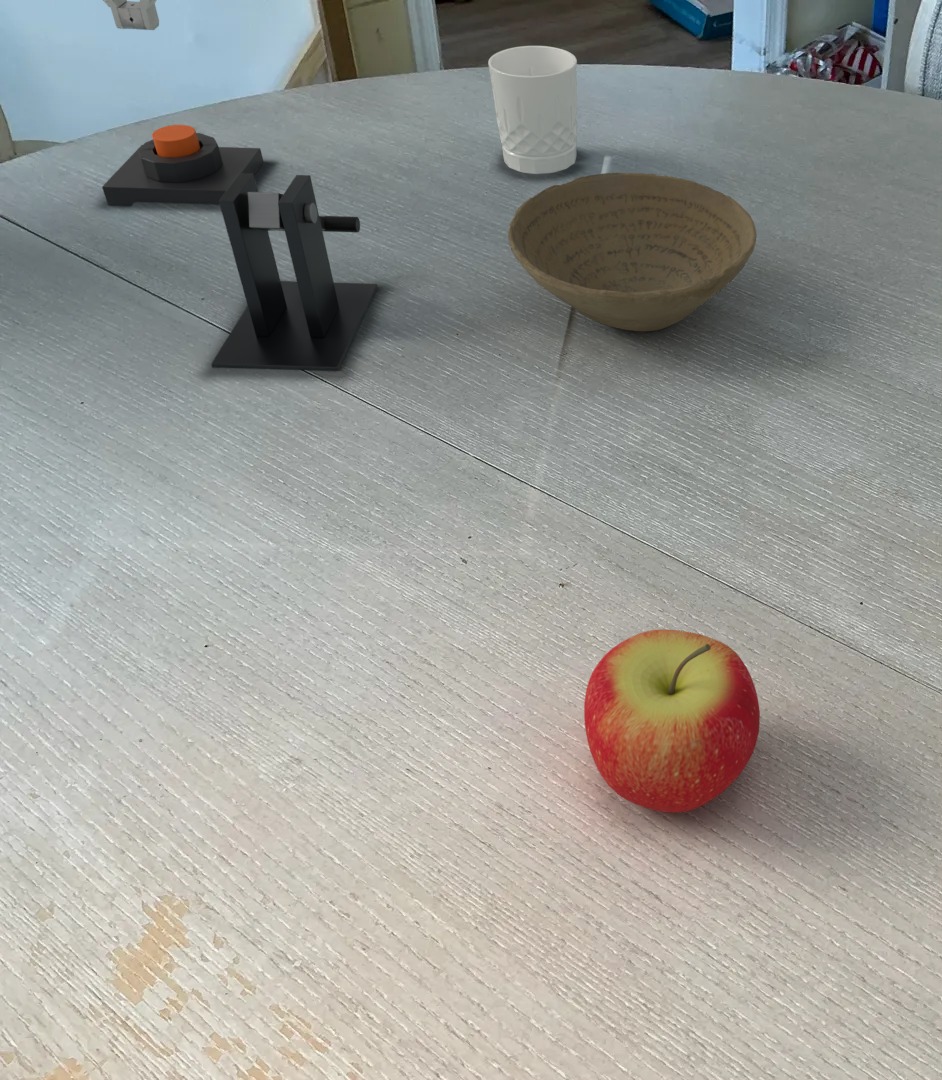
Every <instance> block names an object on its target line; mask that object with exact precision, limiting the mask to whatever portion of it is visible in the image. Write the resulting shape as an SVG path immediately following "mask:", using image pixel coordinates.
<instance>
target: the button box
mask: <svg viewBox="0 0 942 1080" xmlns="http://www.w3.org/2000/svg"><path fill="white" fill-rule="evenodd" d="M196 134H197V138H198V141H199V145H200V150H199V151H198V152H195V153H193V154H191V155H187V156H181V157H161V156H158V154H157V151H156V148H155V144H154V141H153V139H151V140H147V141H146V142H144V143H143V144H141V145H140V146H139V147H138V148H137V149H136V150H135V151H134V152H133V153H132V155H130V157H128V159H127V160H126V161H125V162H124V163H123V164H122V165H121V166H120V167H119V168H118V170H116V172H114V173H113V175H112V176H111V177H109V179H108V180H107V181H106V182H105V183H104V184H103V185H102V186H101V188H102V191H103V194H104V197H105V200H106V203H107V206H111V207H113V206H114V207H116V206H117V207H132V206H133V205H134V204H135V203H157V204H160V203H161V204H166V203H167V204H189V205H190V204H193V205H196V204H197V205H220V204H219V200H220V199H221V197H222V196H223V195H224V193H225V192H226V191H227V189H228V188H229V187H230V185H231V184H232V183H233V181H234V180H235V179H236V178H237V176H238V175H239V174H240V173H248V174H254V175H256V173H257V172H258V171H259V170H260V167H262V165H263V164H264V162H265V161H264V158H263V154H262V153H263V152H262V149H261V147H233V146H232V147H231V146H219V144H218V142H217V140H216V139H215V137H213V136H211V135H207V134H204V133H201V132H196Z"/></svg>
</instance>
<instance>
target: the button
mask: <svg viewBox="0 0 942 1080" xmlns="http://www.w3.org/2000/svg"><path fill="white" fill-rule="evenodd" d="M196 133H197V131H196V129H195V128H194V127H193V126H191V125H186V124H172V125H166V126H163V127H159V128H157V129H156V130H154V131H153V132H152V133H151V137H152V140H153V141H154V144H155V148H156V151H157V154H158V156H161V157H181V156H187V155H191V154H193V153H195V152H198V151H199V150H200V145H199V141H198V138H197V134H196Z"/></svg>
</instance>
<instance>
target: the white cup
mask: <svg viewBox="0 0 942 1080" xmlns="http://www.w3.org/2000/svg"><path fill="white" fill-rule="evenodd" d="M487 64H488V70H489V77H490V84H491V91H492V97H493V104H494V112H495V118H496V122H497V128H498V135H499V139H500V142H501V148H502V156H503V161H504V163H505V164H506V165H507V167H508V168H509V169H512V170H515V171H517V172H520V173H524V174H525V173H526V174H533V175H540V174H541V175H542V174H553V173H558V172H560V171H564V170H567V169H568V168H570V167H571V166H573V165H574V164H575V163H576V159H577V140H578V60H577V57H576V56H575V55H574V54H573V53H572V52H570V51H568V50H565V49H562V48H558V47H554V46H547V45H522V46H515V47H510V48H506V49H503V50H500V51H498V52H496V53H494V54H492V55H491V56H490V58H488V62H487Z"/></svg>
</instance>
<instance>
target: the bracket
mask: <svg viewBox="0 0 942 1080" xmlns="http://www.w3.org/2000/svg"><path fill="white" fill-rule="evenodd" d="M248 192H259V190H258V186H257V182H256V179H255V174H248V173H240V174H239V175H238V176H237V178H236V179H235V180H234V181H233V183H232V184H231V185H230V187H229V188H228V189H227V191H226V192H225V193H224V195H223V196H222V197H221V199H220V200H219V204H218V205H219V208H220V211H221V214H222V218H223V221H224V225H225V229H226V232H227V236H228V240H229V243H230V246H231V251H232V254H233V259H234V262H235V265H236V269H237V271H238V276H239V279H240V283H241V287H242V291H243V295H244V297H245V302H246V304H247V306H246V307H245V309H244V311H243V313H242V314H241V316H240V317H239V318H238V321H237V322H236V323H235V325H234V326H233V329H232V330H231V332H230V333H229V334H228V336H227V338H226V340H225V341H224V343H223V345H222V346H221V347H220V349H219V351H218V352H217V353H216V355H215V357H214V359H212V362H211V368H213V369H215V368H216V369H219V368H220V369H249V370H251V369H253V370H282V371H283V370H285V371H286V370H287V371H315V372H317V371H318V372H319V371H321V372H339V370H340V368H341V366H342V364H343V363H344V360H345V358H346V356H347V353H348V352H349V349H350V347H351V345H352V343H353V342H354V339H355V337H356V335H357V333H358V330H359V328H360V326H361V323H362V322H363V320H364V317H365V315H366V314H367V312H368V310H369V307H370V305H371V303H372V301H373V298H374V297H375V295H376V292H377V290H378V288H379V285H378V284H377V283H364V282H363V283H362V282H359V283H358V282H334V277H333V274H332V273H333V272H332V268H331V264H330V259H329V254H328V251H327V246H326V245H327V244H326V241H325V237H324V232H323V231H322V227H321V222H320V218H319V216H320V213H319V209H318V204H317V200H316V196H315V191H314V186H313V182H312V177H311V175H309V174H296V175H295V177H294V178H293V179H292V181H291V182H290V184H289V185H288V187H287V188H286V190H285V191H284V192H283V193H282V194H283V196H282V197H281V199H280V200H279V202H278V205H279V209H280V214H281V218H282V222H283V226H284V230H285V231H284V234H285V239H286V242H287V247H288V250H289V255H290V260H291V263H292V267H293V271H294V276H295V280H296V281H294V280H293V281H292V280H290V281H289V280H281V278H280V274H279V270H278V265H277V262H276V257H275V254H274V250H273V245H272V241H271V238H270V233H269V231H264V230H259V229H254V228H250V227H249V217H248V194H247V193H248Z"/></svg>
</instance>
